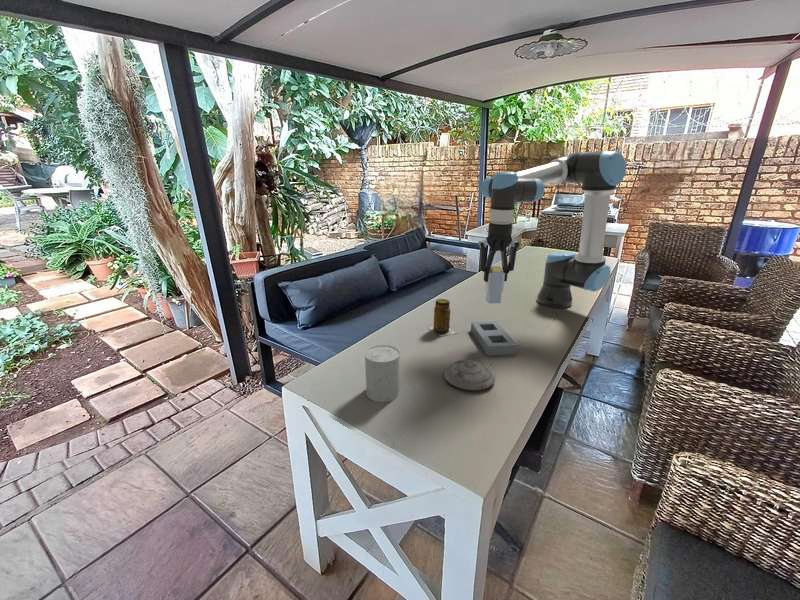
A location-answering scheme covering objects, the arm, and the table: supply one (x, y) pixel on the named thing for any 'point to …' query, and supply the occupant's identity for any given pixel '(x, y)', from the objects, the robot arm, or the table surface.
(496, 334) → the panel
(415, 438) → the table surface
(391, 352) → the pale grey cylinder
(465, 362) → the flying saucer
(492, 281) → the plug
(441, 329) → the condiment
